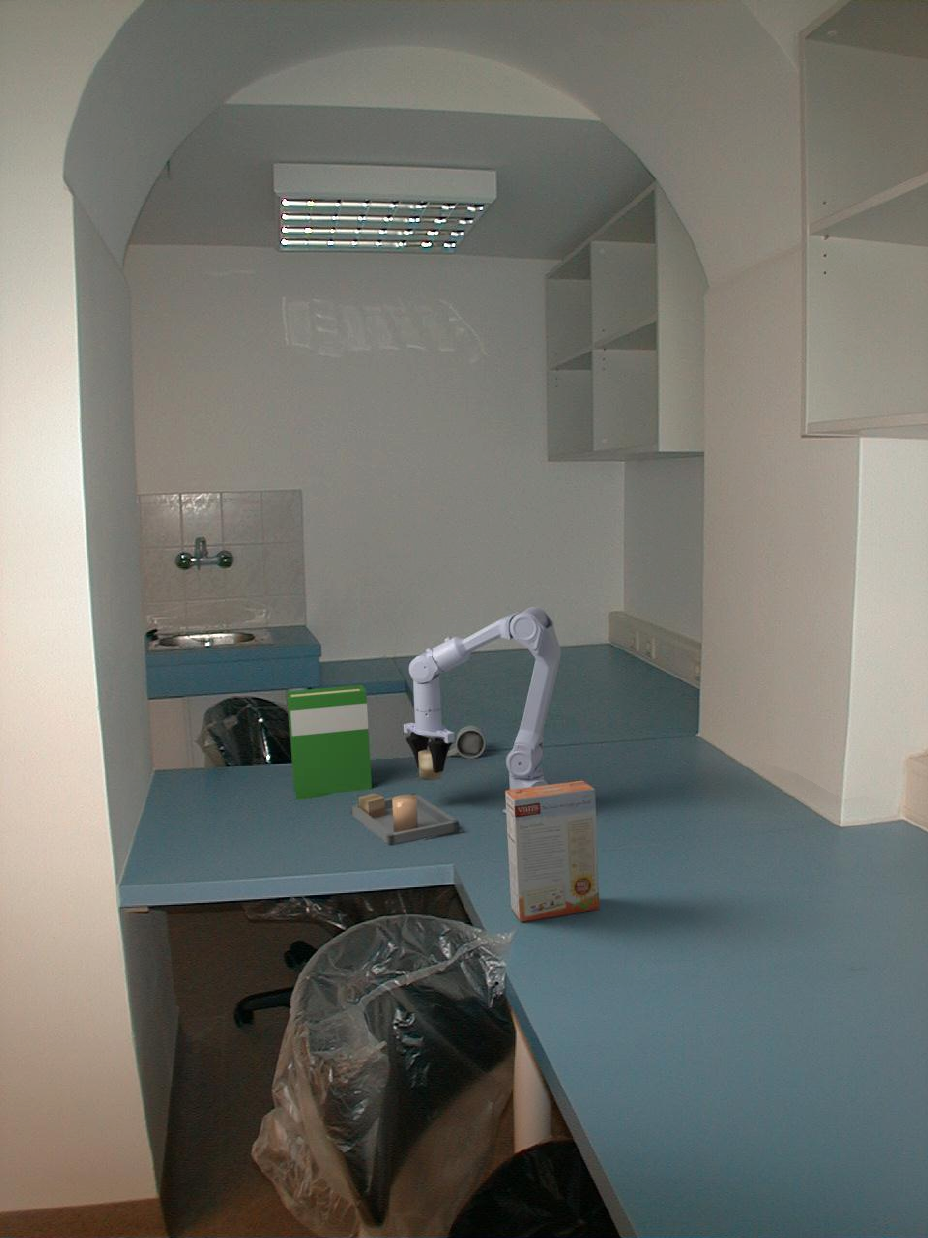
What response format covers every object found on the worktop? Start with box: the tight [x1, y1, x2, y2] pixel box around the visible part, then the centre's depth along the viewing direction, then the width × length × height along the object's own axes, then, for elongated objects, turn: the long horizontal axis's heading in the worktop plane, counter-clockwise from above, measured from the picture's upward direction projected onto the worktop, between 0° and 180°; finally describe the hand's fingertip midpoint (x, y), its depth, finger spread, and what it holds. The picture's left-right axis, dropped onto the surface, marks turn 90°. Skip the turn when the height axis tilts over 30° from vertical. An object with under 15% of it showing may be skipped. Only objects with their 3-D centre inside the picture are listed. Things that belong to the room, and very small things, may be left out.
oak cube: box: [358, 793, 385, 819], centre depth 219 cm, size 4×4×4 cm
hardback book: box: [286, 684, 373, 801], centre depth 238 cm, size 18×7×24 cm, turn 104°
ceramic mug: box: [446, 725, 487, 760], centre depth 265 cm, size 11×8×8 cm
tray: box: [349, 792, 460, 846], centre depth 214 cm, size 22×15×2 cm
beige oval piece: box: [418, 748, 443, 781], centre depth 222 cm, size 5×5×6 cm
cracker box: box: [504, 780, 600, 923], centre depth 168 cm, size 14×6×21 cm, turn 104°
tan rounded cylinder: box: [392, 794, 418, 832], centre depth 209 cm, size 5×5×6 cm
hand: (430, 769), depth 222 cm, fingers closed on beige oval piece, 5 cm apart
